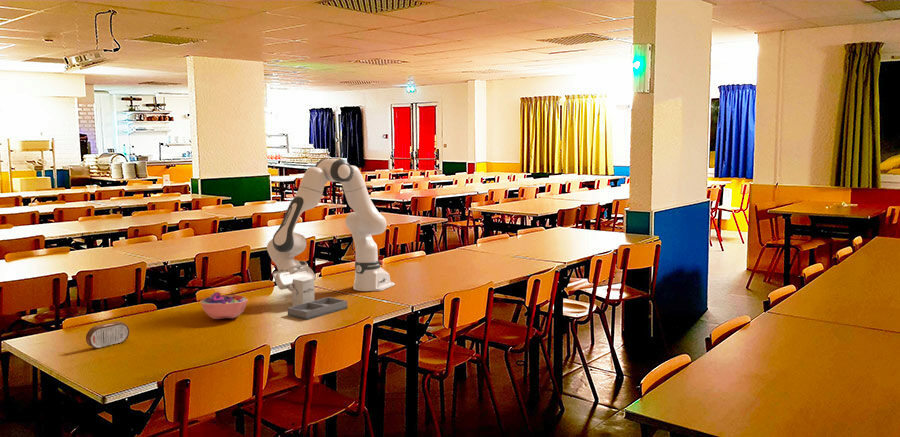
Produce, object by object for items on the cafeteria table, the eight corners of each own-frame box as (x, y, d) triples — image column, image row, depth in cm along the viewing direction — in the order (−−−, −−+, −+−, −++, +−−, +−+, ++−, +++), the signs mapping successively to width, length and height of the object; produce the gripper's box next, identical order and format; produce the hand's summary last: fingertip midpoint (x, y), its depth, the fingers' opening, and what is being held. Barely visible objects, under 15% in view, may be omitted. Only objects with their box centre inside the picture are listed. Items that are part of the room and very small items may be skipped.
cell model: (236, 325, 278) (235, 298, 276) (192, 322, 281) (191, 296, 280) (256, 314, 294) (255, 288, 293) (214, 312, 298) (213, 287, 297)
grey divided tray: (328, 304, 310) (328, 297, 309) (347, 308, 303) (347, 300, 302) (287, 315, 291) (287, 307, 290) (306, 320, 284) (306, 312, 283)
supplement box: (302, 308, 303) (301, 280, 302) (292, 306, 307) (291, 278, 306) (315, 305, 309) (314, 278, 307) (304, 302, 313) (303, 276, 312)
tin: (127, 340, 258) (125, 318, 257) (131, 341, 256) (129, 320, 255) (86, 350, 247) (84, 327, 246) (90, 351, 245) (88, 329, 244)
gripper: (274, 268, 302) (289, 292, 297) (308, 261, 318) (323, 283, 313) (268, 276, 305) (283, 300, 300) (302, 269, 321) (317, 292, 317)
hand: (304, 292), depth 307 cm, fingers closed on supplement box, 7 cm apart
